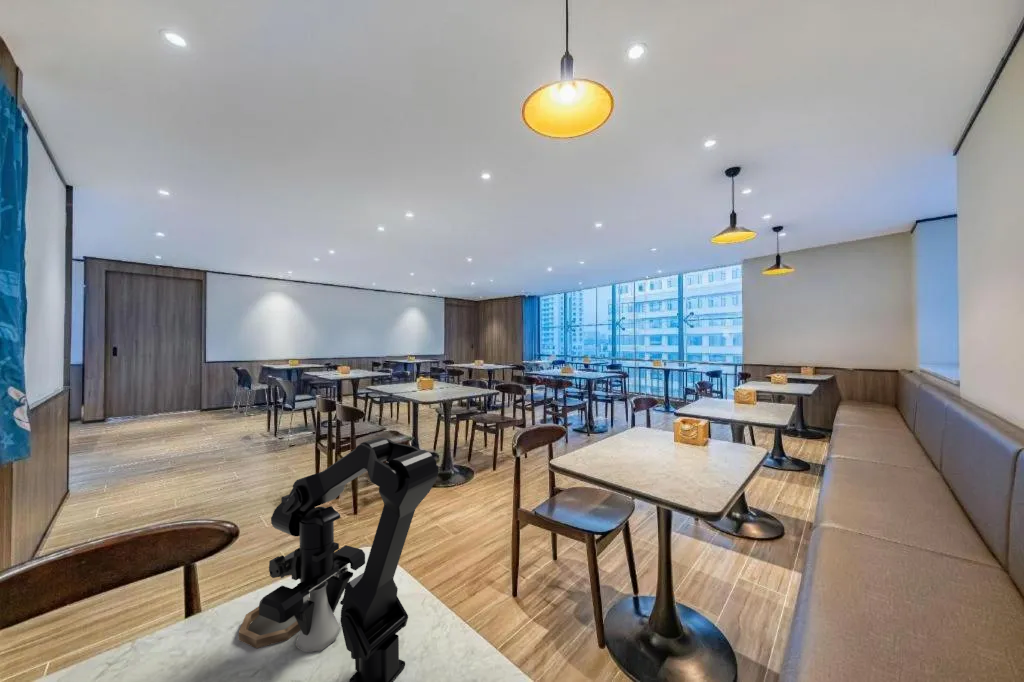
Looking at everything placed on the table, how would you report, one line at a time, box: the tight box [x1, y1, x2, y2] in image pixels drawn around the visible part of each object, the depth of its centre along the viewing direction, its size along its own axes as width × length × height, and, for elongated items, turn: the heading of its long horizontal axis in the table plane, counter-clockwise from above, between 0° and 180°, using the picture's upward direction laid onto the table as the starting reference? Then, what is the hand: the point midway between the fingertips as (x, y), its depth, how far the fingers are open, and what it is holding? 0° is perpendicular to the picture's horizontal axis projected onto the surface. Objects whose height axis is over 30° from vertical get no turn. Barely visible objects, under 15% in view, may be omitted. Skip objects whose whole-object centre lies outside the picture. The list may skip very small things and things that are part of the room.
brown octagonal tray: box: [238, 605, 301, 649], centre depth 76 cm, size 12×12×2 cm
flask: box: [294, 581, 342, 653], centre depth 72 cm, size 7×7×10 cm
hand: (318, 624), depth 72 cm, fingers closed on flask, 5 cm apart
